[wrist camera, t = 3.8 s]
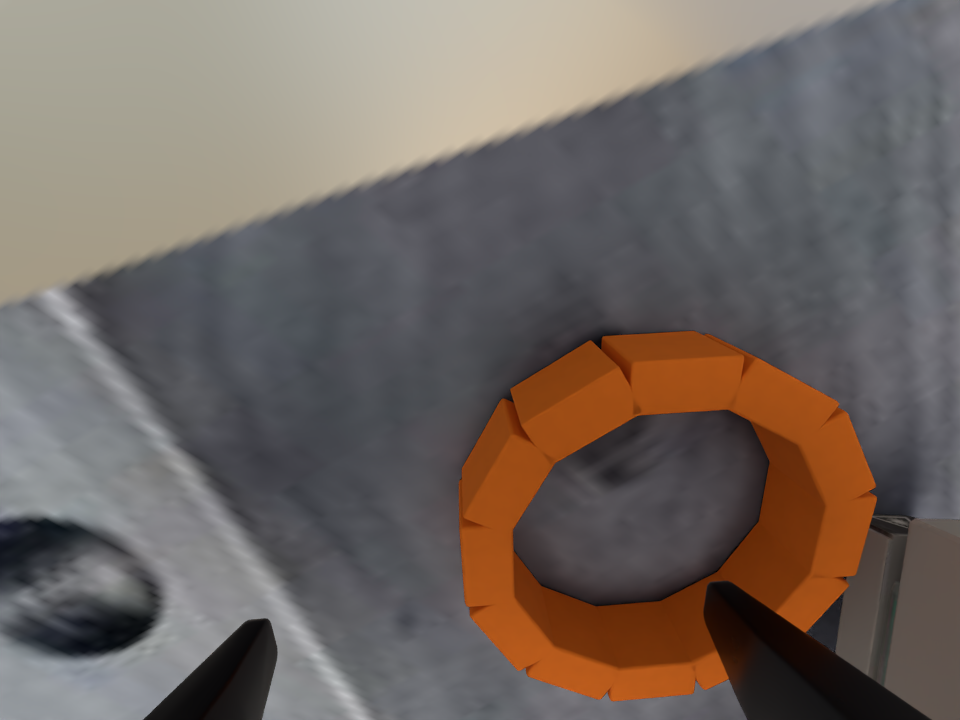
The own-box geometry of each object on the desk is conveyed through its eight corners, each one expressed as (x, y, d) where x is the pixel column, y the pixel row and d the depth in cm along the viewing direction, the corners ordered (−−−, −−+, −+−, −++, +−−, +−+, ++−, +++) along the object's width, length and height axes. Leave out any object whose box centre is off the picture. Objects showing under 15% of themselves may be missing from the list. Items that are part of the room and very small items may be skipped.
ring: (841, 321, 11) (922, 344, 9) (776, 619, 14) (827, 683, 12) (449, 344, 11) (447, 373, 9) (470, 645, 14) (473, 715, 12)
